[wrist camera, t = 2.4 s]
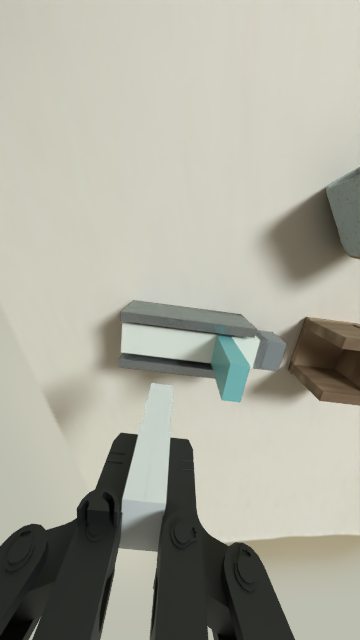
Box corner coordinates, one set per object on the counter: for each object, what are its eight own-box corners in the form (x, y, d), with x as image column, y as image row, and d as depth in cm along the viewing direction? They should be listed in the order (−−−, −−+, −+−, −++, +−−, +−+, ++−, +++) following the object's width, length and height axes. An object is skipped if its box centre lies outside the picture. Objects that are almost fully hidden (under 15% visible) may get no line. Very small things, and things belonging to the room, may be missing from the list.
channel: (133, 300, 25) (120, 311, 19) (241, 314, 25) (257, 329, 20) (130, 345, 27) (118, 367, 21) (230, 357, 27) (242, 381, 22)
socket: (306, 316, 25) (347, 335, 19) (357, 323, 26) (414, 344, 19) (288, 370, 28) (318, 402, 21) (335, 375, 28) (379, 409, 22)
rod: (130, 313, 24) (99, 347, 15) (272, 332, 25) (326, 375, 15) (128, 339, 25) (99, 386, 16) (265, 356, 26) (311, 410, 17)
